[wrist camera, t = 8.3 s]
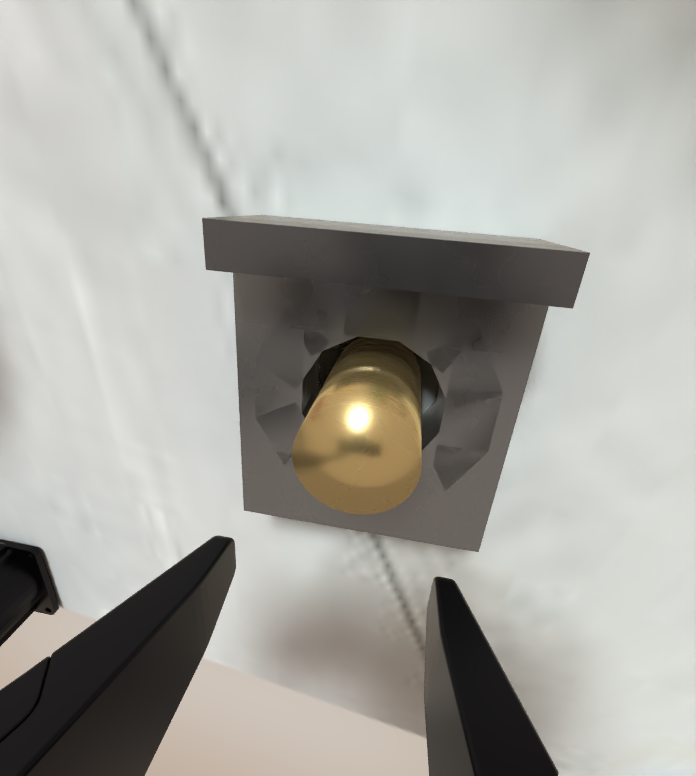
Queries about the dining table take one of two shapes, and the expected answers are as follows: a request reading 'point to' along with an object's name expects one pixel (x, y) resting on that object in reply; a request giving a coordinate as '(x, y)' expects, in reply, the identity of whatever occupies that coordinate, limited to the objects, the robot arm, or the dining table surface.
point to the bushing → (364, 430)
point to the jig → (390, 322)
